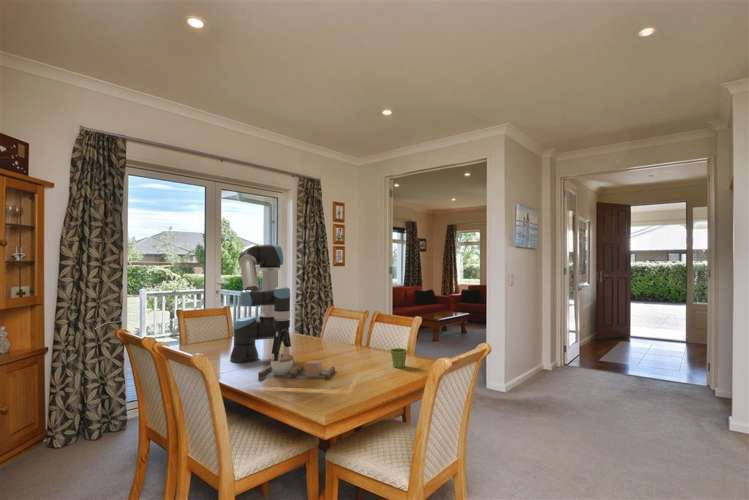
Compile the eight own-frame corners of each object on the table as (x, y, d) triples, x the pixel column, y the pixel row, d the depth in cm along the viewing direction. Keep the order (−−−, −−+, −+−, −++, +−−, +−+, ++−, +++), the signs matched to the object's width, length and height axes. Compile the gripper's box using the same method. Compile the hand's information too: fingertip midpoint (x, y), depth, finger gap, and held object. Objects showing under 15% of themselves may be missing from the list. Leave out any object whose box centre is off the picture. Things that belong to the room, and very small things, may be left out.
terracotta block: (309, 372, 199) (309, 360, 199) (321, 372, 199) (321, 360, 199) (305, 376, 193) (305, 363, 193) (318, 376, 193) (318, 363, 193)
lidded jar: (266, 375, 194) (266, 355, 194) (276, 369, 204) (276, 350, 204) (287, 377, 192) (287, 356, 192) (296, 370, 202) (296, 351, 202)
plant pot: (392, 369, 211) (392, 352, 211) (388, 364, 220) (388, 348, 220) (409, 368, 213) (409, 351, 213) (404, 364, 222) (404, 347, 222)
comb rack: (270, 371, 206) (270, 364, 206) (334, 373, 202) (334, 366, 202) (258, 380, 191) (258, 372, 191) (327, 383, 187) (327, 375, 188)
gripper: (283, 315, 211) (282, 357, 211) (264, 323, 186) (264, 370, 186) (297, 315, 210) (296, 357, 210) (280, 324, 186) (280, 371, 185)
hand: (281, 363), depth 198 cm, fingers open, 13 cm apart
